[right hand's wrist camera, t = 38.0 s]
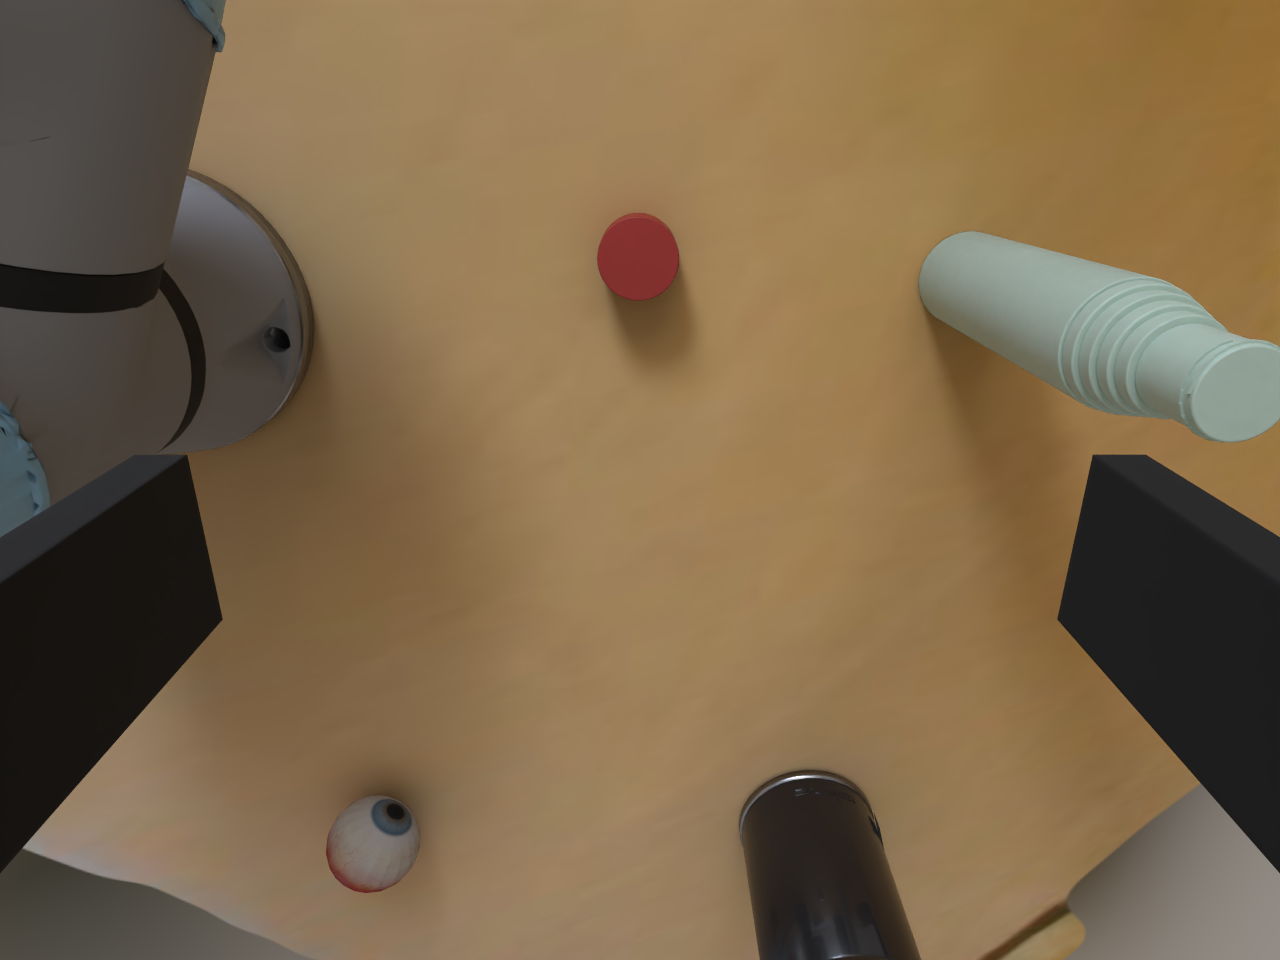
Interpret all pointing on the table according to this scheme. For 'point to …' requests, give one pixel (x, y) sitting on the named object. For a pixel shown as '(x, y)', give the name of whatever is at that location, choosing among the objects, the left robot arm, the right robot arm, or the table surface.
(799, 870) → the left robot arm
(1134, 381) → the bottle
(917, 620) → the table surface
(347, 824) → the eyeball
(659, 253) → the cap
